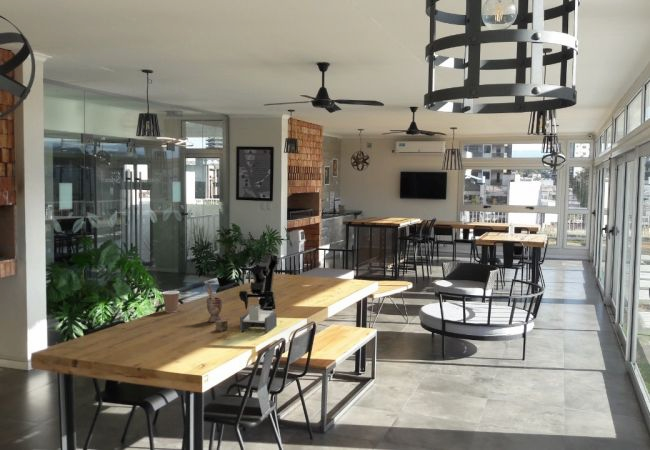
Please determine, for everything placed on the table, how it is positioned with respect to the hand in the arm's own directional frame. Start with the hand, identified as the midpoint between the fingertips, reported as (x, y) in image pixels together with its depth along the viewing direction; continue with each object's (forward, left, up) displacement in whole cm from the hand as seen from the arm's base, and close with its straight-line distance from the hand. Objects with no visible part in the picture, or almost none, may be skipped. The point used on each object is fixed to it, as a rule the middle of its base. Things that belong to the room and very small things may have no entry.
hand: (254, 309), depth 333 cm
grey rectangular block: (-1, 0, -5) cm, 6 cm away
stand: (0, -19, -12) cm, 23 cm away
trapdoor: (-7, 0, -8) cm, 11 cm away
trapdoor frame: (-7, 0, -12) cm, 14 cm away
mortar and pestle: (-20, -33, -13) cm, 41 cm away
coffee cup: (-38, -69, -13) cm, 80 cm away
